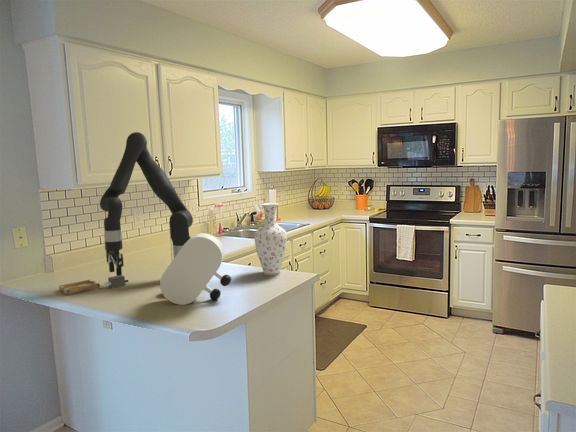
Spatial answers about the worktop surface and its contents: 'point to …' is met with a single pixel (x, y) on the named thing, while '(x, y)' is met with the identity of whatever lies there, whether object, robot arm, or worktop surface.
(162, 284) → the robot
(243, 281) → the worktop surface
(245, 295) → the worktop surface
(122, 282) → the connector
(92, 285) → the tray
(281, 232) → the vase
